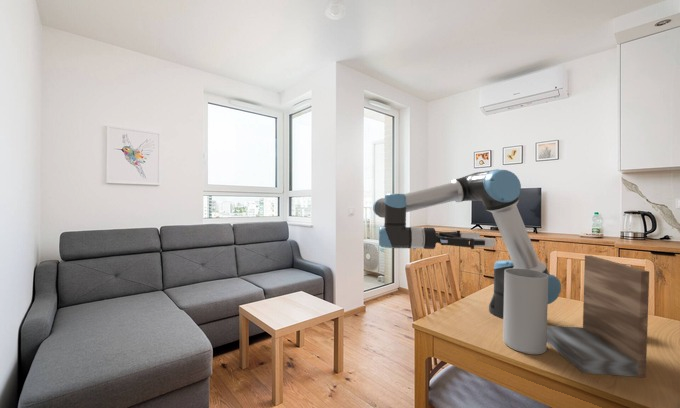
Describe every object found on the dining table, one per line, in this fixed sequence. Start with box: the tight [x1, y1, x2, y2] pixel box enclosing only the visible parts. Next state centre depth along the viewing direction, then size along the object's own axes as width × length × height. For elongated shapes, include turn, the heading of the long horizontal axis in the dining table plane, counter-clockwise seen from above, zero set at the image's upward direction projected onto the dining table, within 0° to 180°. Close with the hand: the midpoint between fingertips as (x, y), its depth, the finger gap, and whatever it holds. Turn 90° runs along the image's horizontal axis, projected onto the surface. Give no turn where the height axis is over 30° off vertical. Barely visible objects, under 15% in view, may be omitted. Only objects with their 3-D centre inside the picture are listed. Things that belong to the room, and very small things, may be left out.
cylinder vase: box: [502, 268, 549, 355], centre depth 98 cm, size 12×12×25 cm
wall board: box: [547, 254, 650, 378], centre depth 93 cm, size 16×22×30 cm
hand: (486, 239), depth 99 cm, fingers open, 13 cm apart
